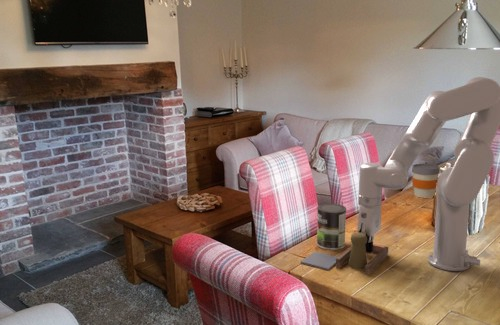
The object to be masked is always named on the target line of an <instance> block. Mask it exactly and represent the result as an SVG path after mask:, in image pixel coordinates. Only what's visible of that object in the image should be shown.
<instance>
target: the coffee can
mask: <svg viewBox="0 0 500 325" xmlns="http://www.w3.org/2000/svg"><path fill="white" fill-rule="evenodd" d="M316 209H317V217H316V218H317V219H316V220H317V223H316V224H317V226H316V227H317V231H316V233H317V234H316V246H318V248H321V249H323V250H327V251H329V250H330V251H338V250H341V249H344V248H345V247H346V224H347V223H346V221H347V220H346V218H347V207H346V206H345V205H342V204H338V203H322V204H320V205H318V206H316Z"/></svg>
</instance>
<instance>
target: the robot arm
mask: <svg viewBox="0 0 500 325" xmlns="http://www.w3.org/2000/svg"><path fill="white" fill-rule="evenodd" d="M466 116H469V119H468V121H467V123H466V125H465V128H464V130H463V131H462V134H461V136H460V138H459V140H458V142H457V143H456V146H455V147H454V150H453V151H454V152H453V155H454V156H453V157H454V159H455V162H454V164H453V166H452V167H449V168H446V169H445V170H443V171H442V172H441V173H439V174H440V175H438V182H437V188H436V211H435V213H436V214H435V224H434V225H435V226H434V238H433V240H434V242H433V253H429V255H428V256H427V262H428V263H429V264H430V265H431V266H433V267H434V268H435V267H436V268H437V269H439V270H443V271H449V272H451V271H452V272H461V271H466V270H468V269H469V268H470V267H471V265H474V266H478V267H479V266H480V265H481V259H478V256H474V255H470V254H469V250H468V249H467V241H468V240H467V239H468V231H469V230H468V229H469V218H470V204H472V203H473V202H474V201H475V199H476V198H477V197H478V195H479V193H480V191H481V189H482V187H483V186H484V184H485V181H486V180H487V178H488V176H489V174H490V172H491V169H492V167H493V164H494V161H495V156H494V152H493V149H492V148H491V146H492V144H493V141H494V139H495V137H496V136H497V132H498V130H499V128H500V84H498V82H497V81H495V80H494V79H491V78H486V77H481V76H478V77H473V78H471V79H469V80H467V82H466V83H465V84H464V85H461V86H459V87H456V88H452V89H450V90H447V91H446V90H445V91H443V90H437V91H434V92H431V93H429V95H428V96H427V97H426V98H425V101H423V103H422V105H421V107H420V108H419V110H418V112H417V114H416V115H415V117H414V119H413V120H412V122H411V124H410V125H409V127H408V128H407V130H406V132H405V133H404V134H403V136H402V138H401V140H400V141H399V143H398V144H397V145H396V147H395V149H394V150H393V151H392V154H391V155H390V157H389V158H388V160H387V161H386V162H385V163H386V164H385V165H384V167H383V165H382V164H379V163H376V162H366V163H362V164H361V165H360V166H359V167H360V168H359V178H358V180H359V182H358V200H357V202H358V203H357V205H358V206H359V210H358V217H357V232H359V233H364V234H365V235H366V236H367V243H366V244H365V246H366V254H372V253H371V252H372V251H373V244H374V238H375V235H376V234H377V233H378V232H379V231H380V230H381V229H382V227H381V226H382V209H381V208H382V207H381V206H382V203H383V202H382V201H383V200H382V198H383V188H384V189H388V190H389V189H390V190H395V191H396V190H402V189H404V188H405V187H406V186H407V184H408V183H409V175H408V172H409V171H410V169H411V168H412V167H413V165H414V162H415V160H417V158H418V157H419V155H420V154H422V152H424V151H425V150H427V149H429V148H430V147H431V146H432V144H433V143H434V141H435V139H436V138H437V136H438V134H439V133H440V131H441V130H442V129H443V127H444V125H445V124H446V123H447V122H448V121H452V120H456V119H459V118H462V117H466Z"/></svg>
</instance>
